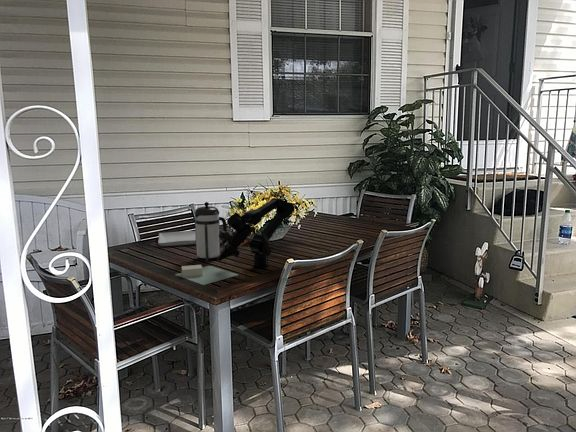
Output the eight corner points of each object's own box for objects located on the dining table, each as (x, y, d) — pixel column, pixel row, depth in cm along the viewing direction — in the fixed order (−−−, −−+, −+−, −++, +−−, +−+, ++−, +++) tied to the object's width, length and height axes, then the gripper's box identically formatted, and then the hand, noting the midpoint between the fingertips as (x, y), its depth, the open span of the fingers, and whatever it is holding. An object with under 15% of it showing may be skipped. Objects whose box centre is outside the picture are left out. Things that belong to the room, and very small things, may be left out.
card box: (201, 264, 216) (181, 266, 214) (202, 268, 211) (182, 269, 208) (201, 271, 217) (181, 273, 214) (202, 275, 211) (182, 277, 209)
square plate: (159, 238, 291) (158, 232, 290) (203, 235, 298) (202, 230, 297) (158, 248, 265) (157, 242, 265) (206, 245, 272) (206, 239, 271)
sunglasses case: (220, 242, 277) (224, 232, 279) (228, 246, 282) (232, 236, 283) (240, 247, 265) (244, 236, 266) (248, 251, 270) (252, 241, 271)
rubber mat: (209, 266, 227) (209, 265, 227) (239, 275, 212) (238, 274, 212) (174, 275, 213) (174, 274, 213) (203, 286, 198) (203, 285, 198)
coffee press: (222, 262, 234) (220, 204, 229) (191, 262, 235) (188, 204, 229) (227, 253, 251) (226, 199, 246) (198, 253, 252) (196, 199, 246)
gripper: (225, 220, 223) (203, 244, 222) (231, 228, 205) (207, 254, 204) (242, 235, 226) (220, 258, 225) (249, 244, 208) (226, 269, 208)
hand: (218, 260), depth 216 cm, fingers closed
